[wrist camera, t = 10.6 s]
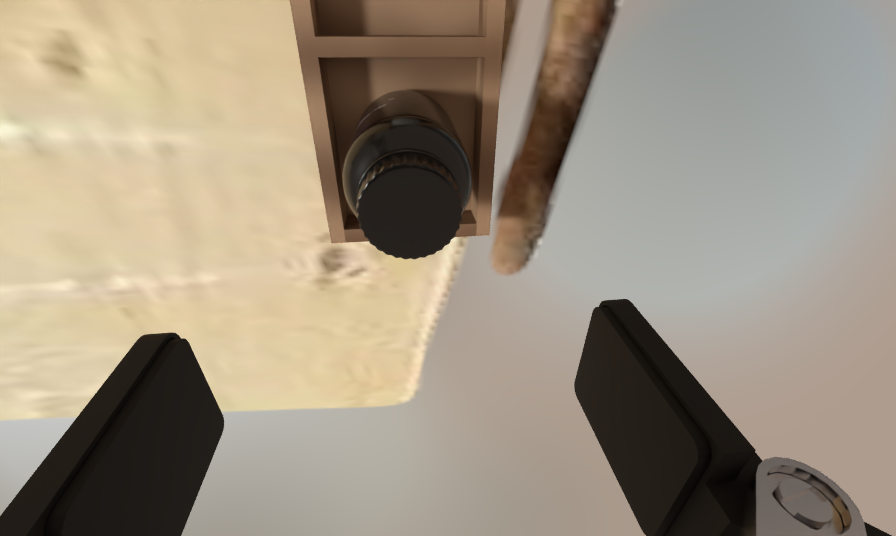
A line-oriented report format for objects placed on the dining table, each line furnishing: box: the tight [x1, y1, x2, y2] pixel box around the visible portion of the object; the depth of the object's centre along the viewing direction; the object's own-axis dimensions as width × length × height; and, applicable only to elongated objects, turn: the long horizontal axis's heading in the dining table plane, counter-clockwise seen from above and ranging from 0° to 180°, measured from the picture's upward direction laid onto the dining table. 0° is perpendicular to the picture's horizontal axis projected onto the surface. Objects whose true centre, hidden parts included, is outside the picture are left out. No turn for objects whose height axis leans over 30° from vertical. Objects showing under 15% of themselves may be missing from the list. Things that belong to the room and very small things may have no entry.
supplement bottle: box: [342, 90, 473, 259], centre depth 23 cm, size 7×7×12 cm
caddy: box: [290, 0, 506, 243], centre depth 24 cm, size 24×12×4 cm, turn 0°
